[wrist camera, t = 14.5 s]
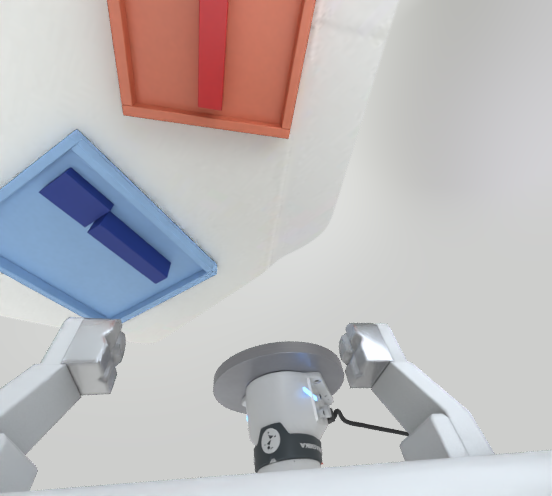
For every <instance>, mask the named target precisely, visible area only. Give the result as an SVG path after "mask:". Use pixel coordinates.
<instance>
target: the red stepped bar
mask: <svg viewBox="0 0 552 496" xmlns="http://www.w3.org/2000/svg"><path fill="white" fill-rule="evenodd" d="M228 10H229V0H199V48H198V107H200V108H207V109H213V110H219V111H222V105H223V93H224V76H225V60H226V43H227V26H228Z"/></svg>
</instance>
